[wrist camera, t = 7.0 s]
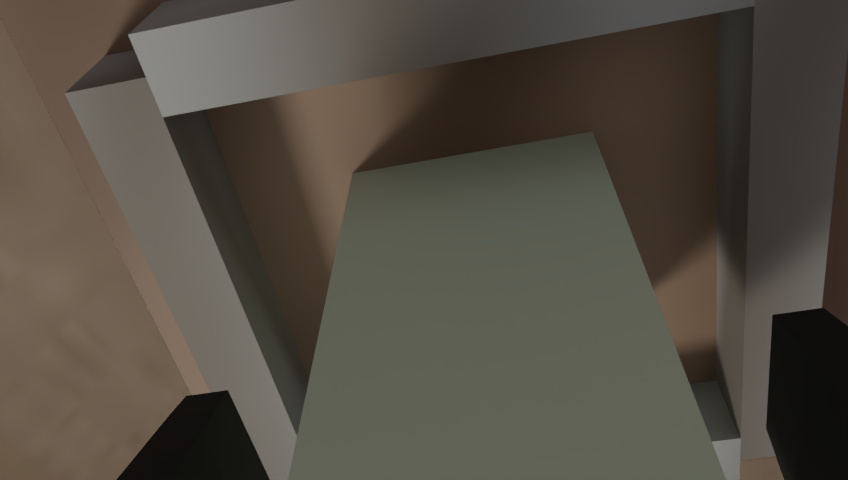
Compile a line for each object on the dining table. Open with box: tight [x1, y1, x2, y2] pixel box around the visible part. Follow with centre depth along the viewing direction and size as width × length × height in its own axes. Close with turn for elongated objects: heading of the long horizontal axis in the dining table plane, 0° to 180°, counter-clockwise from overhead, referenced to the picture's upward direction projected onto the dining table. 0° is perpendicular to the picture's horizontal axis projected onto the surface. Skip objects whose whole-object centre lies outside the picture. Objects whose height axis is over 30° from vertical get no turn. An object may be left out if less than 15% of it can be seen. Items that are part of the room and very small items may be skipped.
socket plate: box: [0, 0, 848, 480], centre depth 13 cm, size 13×13×2 cm
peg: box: [288, 131, 726, 480], centre depth 10 cm, size 4×4×8 cm
